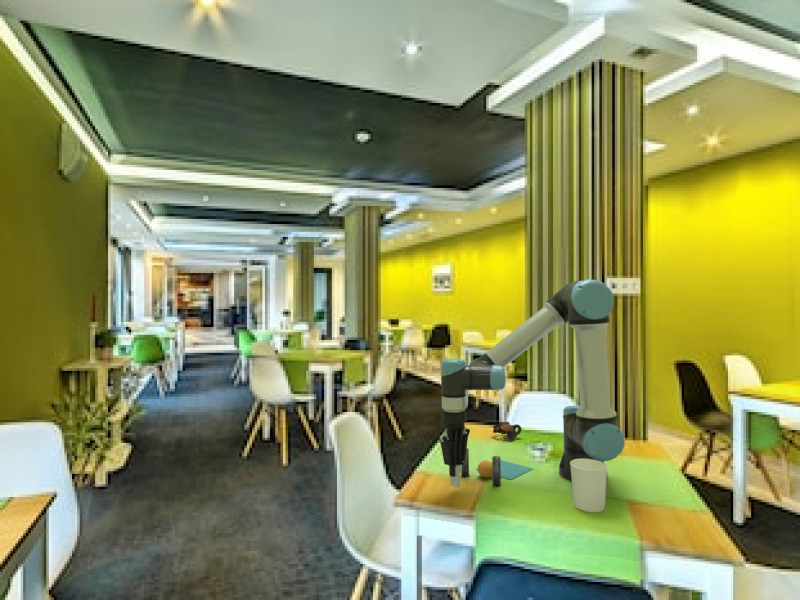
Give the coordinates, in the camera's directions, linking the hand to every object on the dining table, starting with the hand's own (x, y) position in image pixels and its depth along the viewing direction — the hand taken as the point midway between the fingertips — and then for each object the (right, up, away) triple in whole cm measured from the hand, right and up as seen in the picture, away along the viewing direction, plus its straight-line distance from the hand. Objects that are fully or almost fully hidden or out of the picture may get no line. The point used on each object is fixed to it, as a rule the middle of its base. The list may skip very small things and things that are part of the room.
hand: (455, 485), depth 148 cm
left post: (+5, -2, +14) cm, 15 cm away
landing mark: (+19, -2, +19) cm, 27 cm away
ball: (+12, +1, +12) cm, 17 cm away
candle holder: (+37, -2, -12) cm, 39 cm away
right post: (+14, -2, +5) cm, 15 cm away
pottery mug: (+29, -2, +56) cm, 63 cm away
